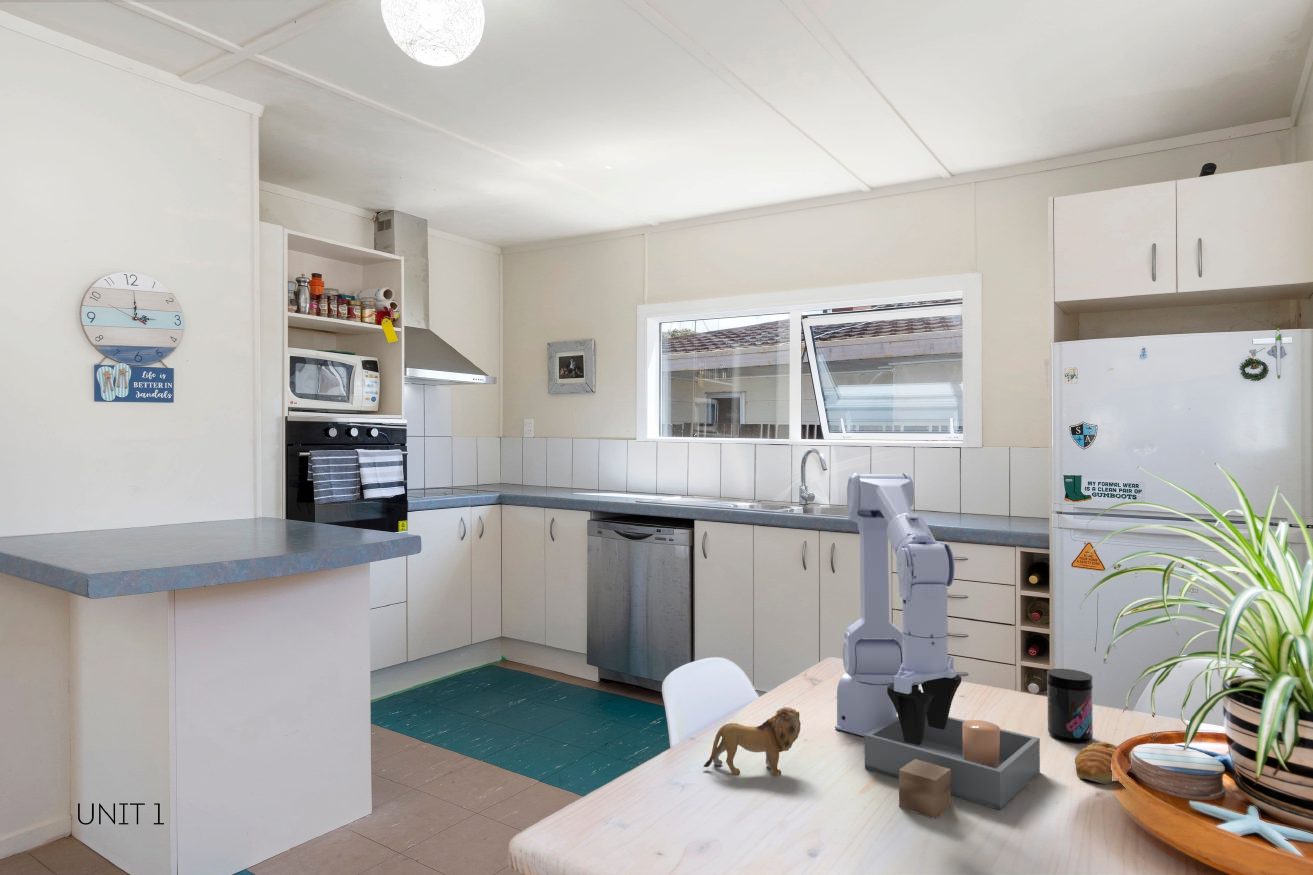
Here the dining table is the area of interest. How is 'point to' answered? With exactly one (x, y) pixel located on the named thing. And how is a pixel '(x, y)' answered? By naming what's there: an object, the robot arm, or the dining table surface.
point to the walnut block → (925, 788)
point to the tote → (957, 760)
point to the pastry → (1095, 762)
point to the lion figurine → (758, 739)
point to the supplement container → (1070, 705)
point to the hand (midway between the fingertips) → (925, 734)
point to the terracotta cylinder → (981, 743)
